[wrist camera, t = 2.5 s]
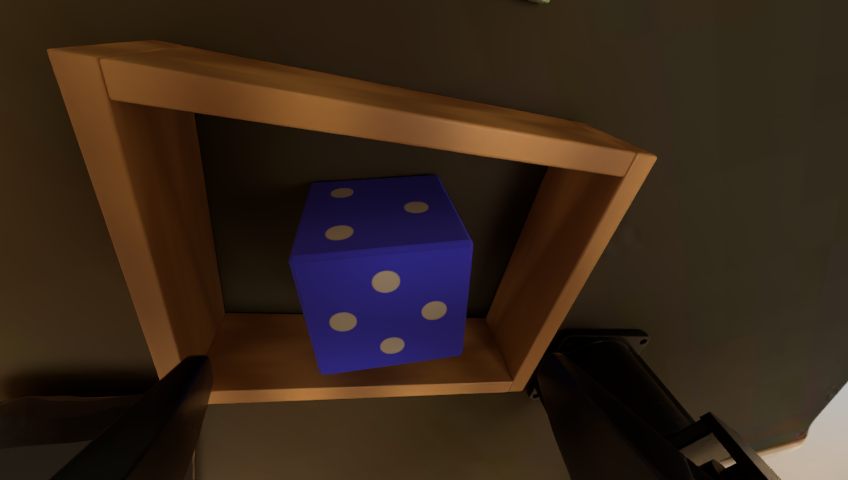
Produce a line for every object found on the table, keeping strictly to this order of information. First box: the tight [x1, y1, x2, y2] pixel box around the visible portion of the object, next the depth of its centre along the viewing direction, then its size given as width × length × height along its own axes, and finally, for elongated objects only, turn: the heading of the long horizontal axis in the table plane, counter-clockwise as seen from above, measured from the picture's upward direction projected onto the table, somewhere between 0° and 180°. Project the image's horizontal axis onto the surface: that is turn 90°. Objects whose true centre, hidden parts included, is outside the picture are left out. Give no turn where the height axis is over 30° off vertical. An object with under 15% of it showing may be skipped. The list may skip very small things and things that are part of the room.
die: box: [288, 175, 474, 375], centre depth 12 cm, size 5×5×5 cm
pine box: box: [47, 40, 657, 404], centre depth 13 cm, size 15×12×4 cm
